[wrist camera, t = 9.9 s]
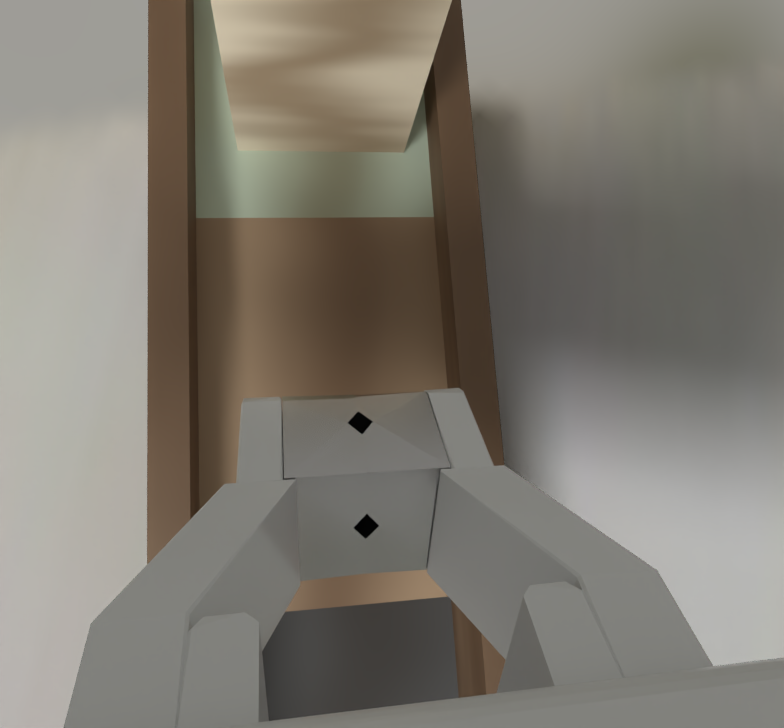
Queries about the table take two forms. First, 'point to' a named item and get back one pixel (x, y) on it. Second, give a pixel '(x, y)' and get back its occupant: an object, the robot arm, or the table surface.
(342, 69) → the birch block
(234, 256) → the walled track
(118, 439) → the table surface
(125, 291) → the table surface
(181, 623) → the robot arm
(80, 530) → the table surface
